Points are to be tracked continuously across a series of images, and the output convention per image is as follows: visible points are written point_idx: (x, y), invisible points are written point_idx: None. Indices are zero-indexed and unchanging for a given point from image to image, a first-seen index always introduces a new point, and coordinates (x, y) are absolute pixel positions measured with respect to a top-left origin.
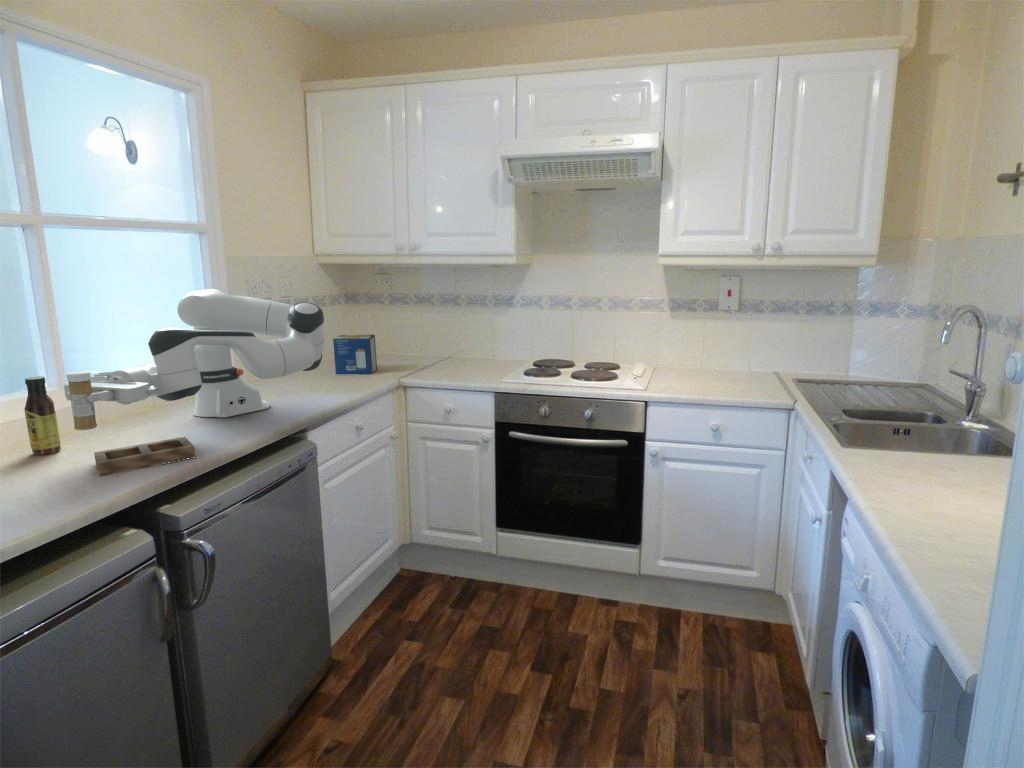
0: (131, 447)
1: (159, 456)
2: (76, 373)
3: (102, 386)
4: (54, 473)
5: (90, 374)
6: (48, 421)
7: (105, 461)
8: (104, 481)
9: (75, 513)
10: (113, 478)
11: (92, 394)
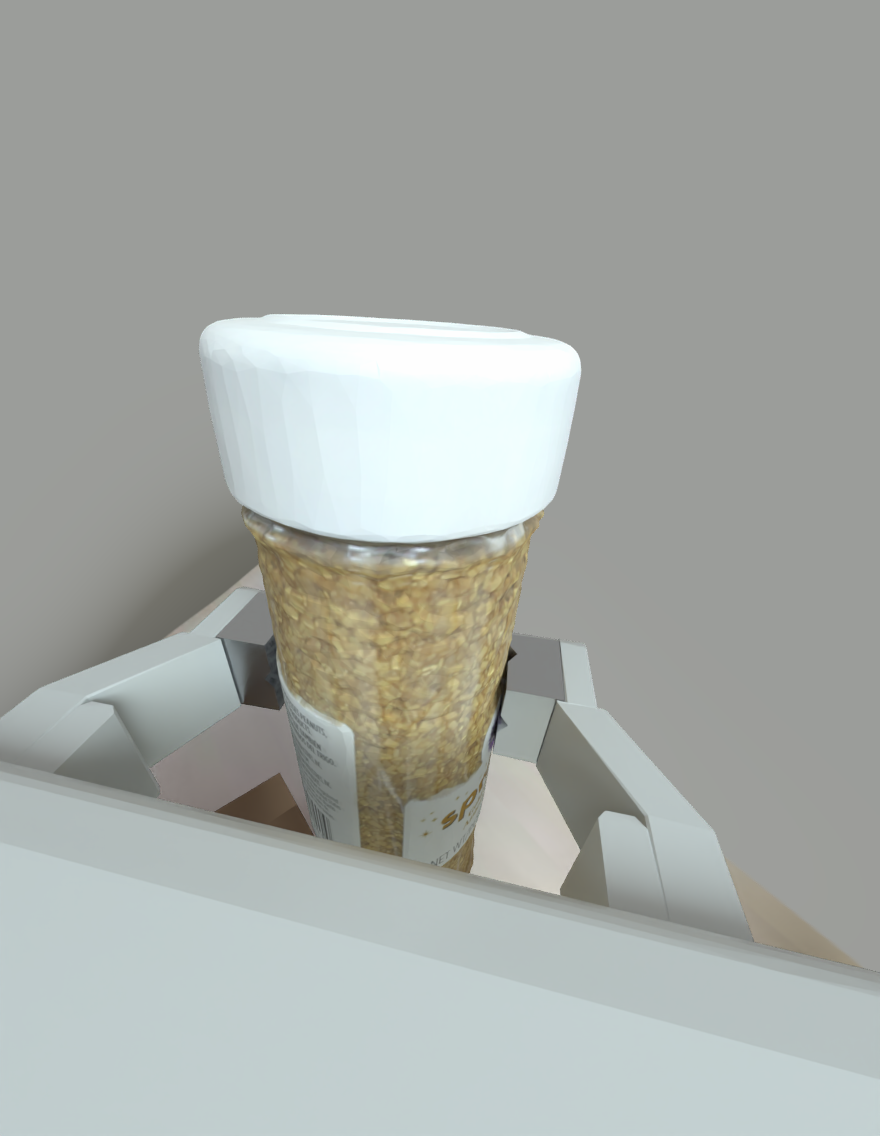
0: None
1: None
2: (362, 317)
3: (106, 830)
4: (519, 853)
5: (207, 394)
6: None
7: (256, 805)
8: (248, 749)
9: (249, 582)
10: (221, 779)
11: (234, 592)
